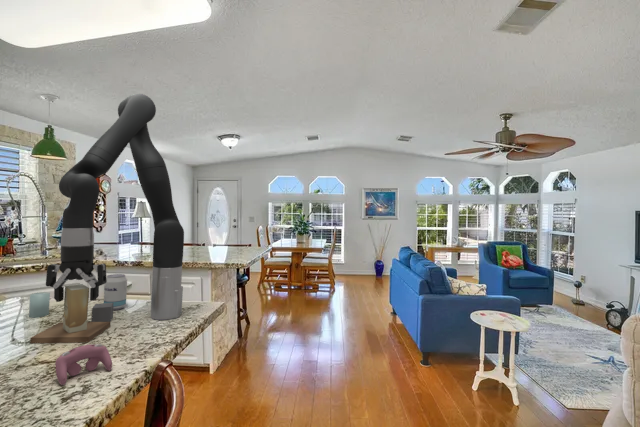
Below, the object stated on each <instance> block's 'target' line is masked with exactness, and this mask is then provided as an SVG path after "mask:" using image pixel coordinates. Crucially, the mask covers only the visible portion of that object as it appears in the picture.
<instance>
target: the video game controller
mask: <svg viewBox="0 0 640 427" xmlns="http://www.w3.org/2000/svg"><path fill="white" fill-rule="evenodd" d="M83 360H87V361H86V363H85V365H84V366H85V367H84V368H85V369H86V371H89V372H91V371H94V370H95V369H97V367H98V366H99V363H102V365H103V366H104V368H105V370H107V371H109V372H110V371H112V369H113V360H112V357H111V355H110V352H109V350H108V348H107V346H106V345H105V346H104V345H103V344H102V343H99V344H98V343H96V344H95V343H94V344H93V343H92V344H91V343H90V344H86V345H80V346H77V347H74V348H72V349H70V350H67V351H65V352H63V353H62V354H61V355H59V356H58V357H57V358H56V360H55V363H54V365H55V366H54V367H55V373H56V374H55V375H56V378H57V379H56V380H57V381H58V383H59V384H60V385H61V386H65V384H67V379H68V376H71V377H75V376H77V375H78V374H80V373H81V372H82V365H81V364H80V363H79V362H80V361H83Z"/></svg>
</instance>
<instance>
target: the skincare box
mask: <svg viewBox="0 0 640 427" xmlns="http://www.w3.org/2000/svg"><path fill="white" fill-rule="evenodd" d="M89 300H90V287H89V286H87V285H85V284H83V283H77V284H70V285H65V286H64V299H63V319H62V322H63V328H64V330H66V331H67V332H68V333H73V332H78V331H83V330H87V322H88V314H89V313H88V312H89Z"/></svg>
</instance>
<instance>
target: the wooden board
mask: <svg viewBox="0 0 640 427" xmlns="http://www.w3.org/2000/svg"><path fill="white" fill-rule="evenodd" d="M111 322H112V321H111ZM111 322H92V321H87V330H83V331H78V332H73V333H68V332H67V331H66V330H64V328H63V321H61V322H58V323H56V324H53V325H52V326H50V327H48V328H46V329H44V330H42V331H41V332H39V333H37V334H34V335H33V336H31V337H30V340H29V341H30V342H29V343H30V344H66V343H67V344H69V343H71V344H72V343H77V344H78V343H89V342H92V341H93V340H94V339H95V338H97V337H98V336H100V335H101V334H102V333H104V332H105V331H107V330H108V329H109V328H111Z"/></svg>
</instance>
